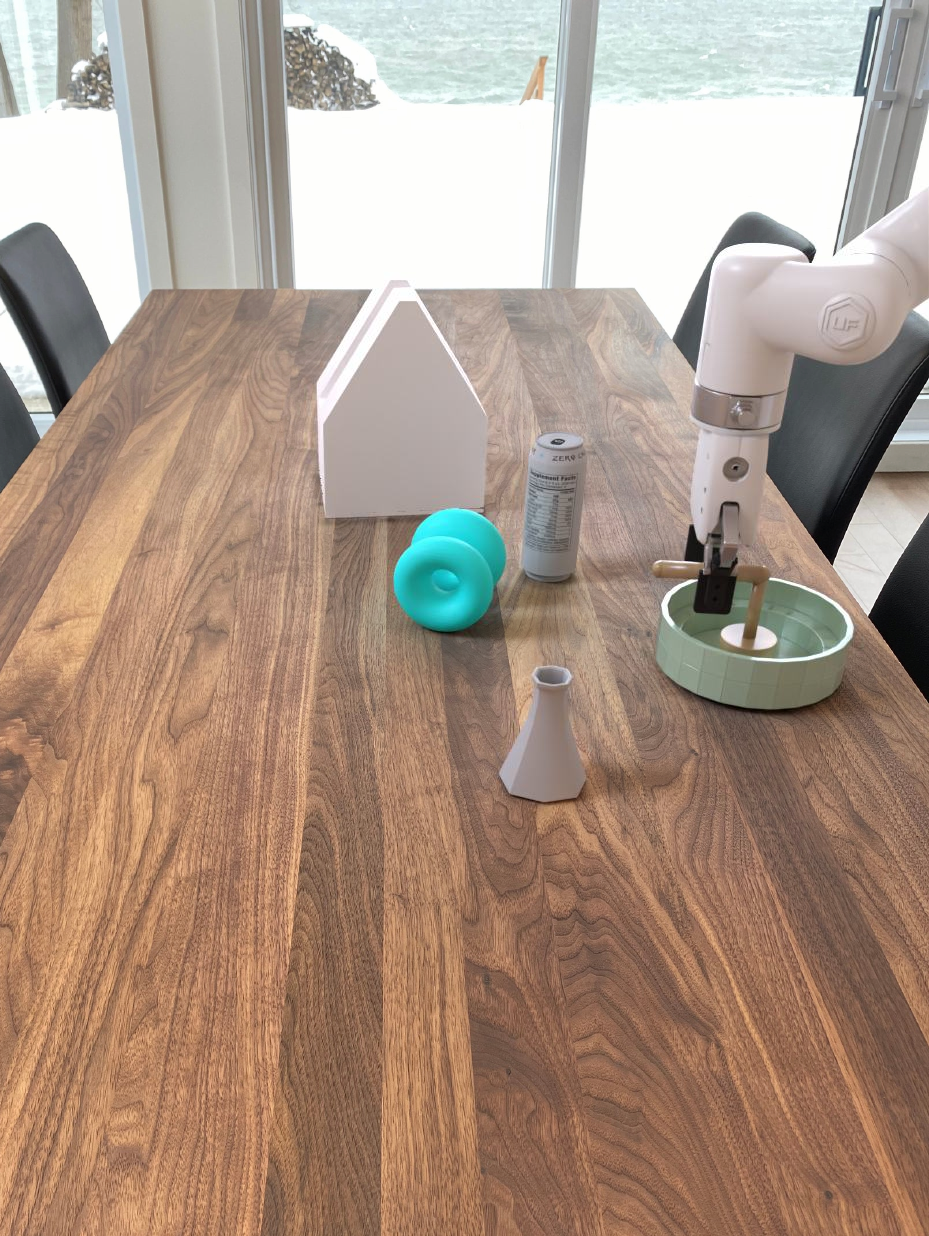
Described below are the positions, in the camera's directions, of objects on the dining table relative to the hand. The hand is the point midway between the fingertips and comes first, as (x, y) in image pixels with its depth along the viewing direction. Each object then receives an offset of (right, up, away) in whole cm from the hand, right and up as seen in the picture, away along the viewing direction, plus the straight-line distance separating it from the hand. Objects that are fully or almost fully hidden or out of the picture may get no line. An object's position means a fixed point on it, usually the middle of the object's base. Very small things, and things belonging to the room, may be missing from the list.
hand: (705, 587), depth 109 cm
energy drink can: (-11, +4, +21) cm, 24 cm away
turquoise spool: (-23, -1, +13) cm, 26 cm away
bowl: (+5, -7, +4) cm, 9 cm away
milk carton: (-27, +18, +40) cm, 52 cm away
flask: (-17, -17, -11) cm, 27 cm away
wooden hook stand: (+1, -6, +4) cm, 7 cm away
